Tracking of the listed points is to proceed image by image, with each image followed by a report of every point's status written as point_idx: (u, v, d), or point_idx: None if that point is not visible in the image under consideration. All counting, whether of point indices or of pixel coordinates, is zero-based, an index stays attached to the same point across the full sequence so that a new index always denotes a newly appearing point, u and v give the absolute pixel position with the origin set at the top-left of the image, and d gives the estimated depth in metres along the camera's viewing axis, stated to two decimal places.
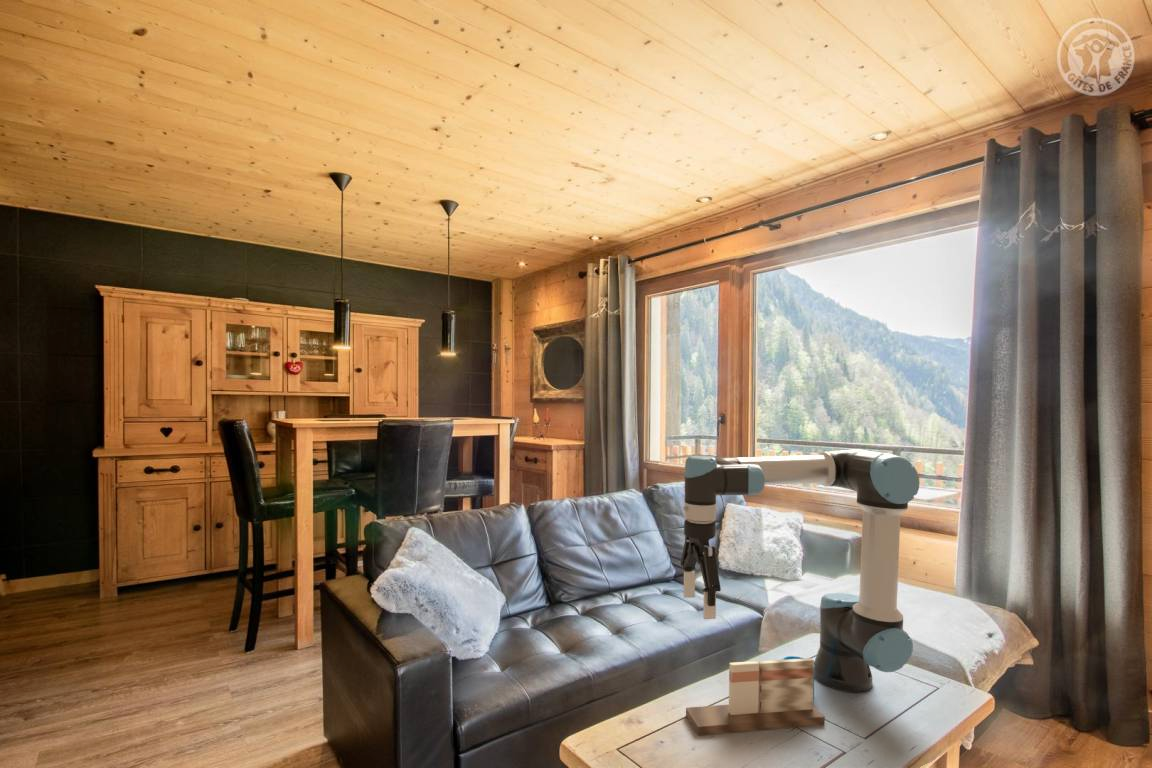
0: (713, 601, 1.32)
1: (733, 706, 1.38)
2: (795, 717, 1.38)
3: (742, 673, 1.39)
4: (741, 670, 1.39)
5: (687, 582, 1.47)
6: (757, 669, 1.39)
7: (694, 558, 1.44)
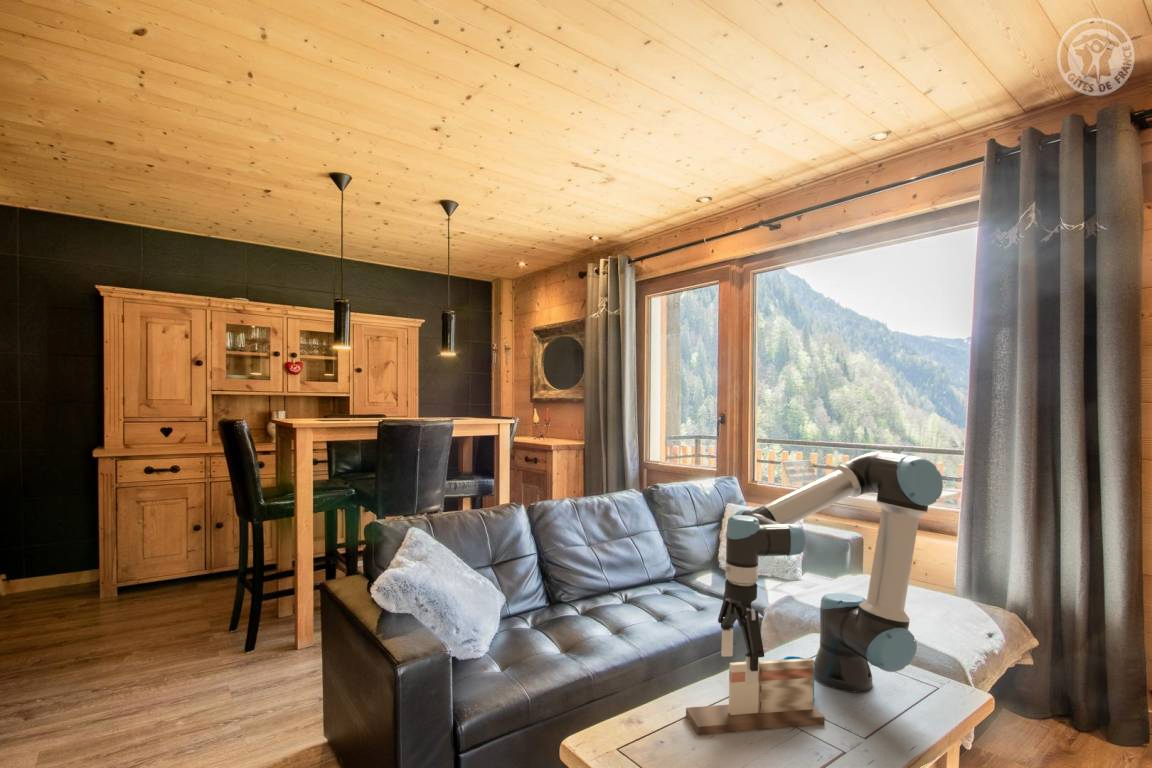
0: (756, 666, 1.31)
1: (733, 706, 1.38)
2: (795, 717, 1.38)
3: (742, 673, 1.39)
4: (741, 670, 1.39)
5: (725, 641, 1.46)
6: None
7: (733, 617, 1.43)
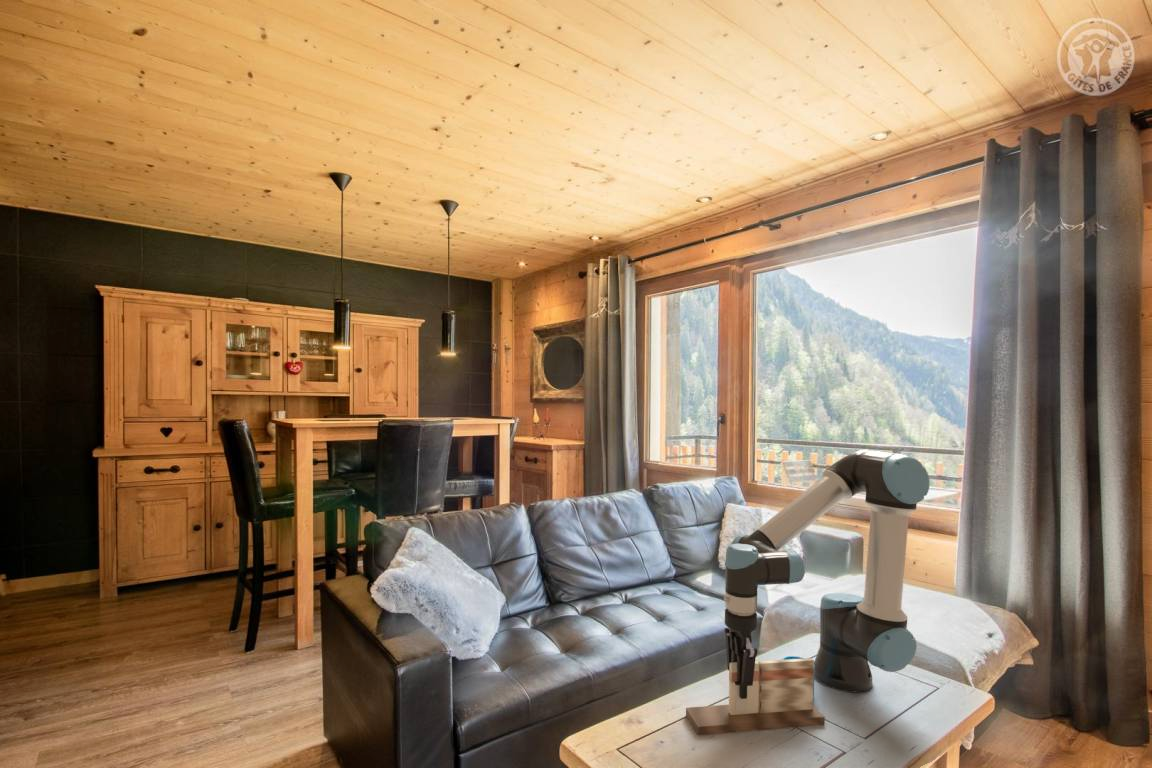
0: (745, 694, 1.37)
1: (733, 706, 1.38)
2: (795, 717, 1.38)
3: None
4: None
5: None
6: (757, 669, 1.39)
7: None
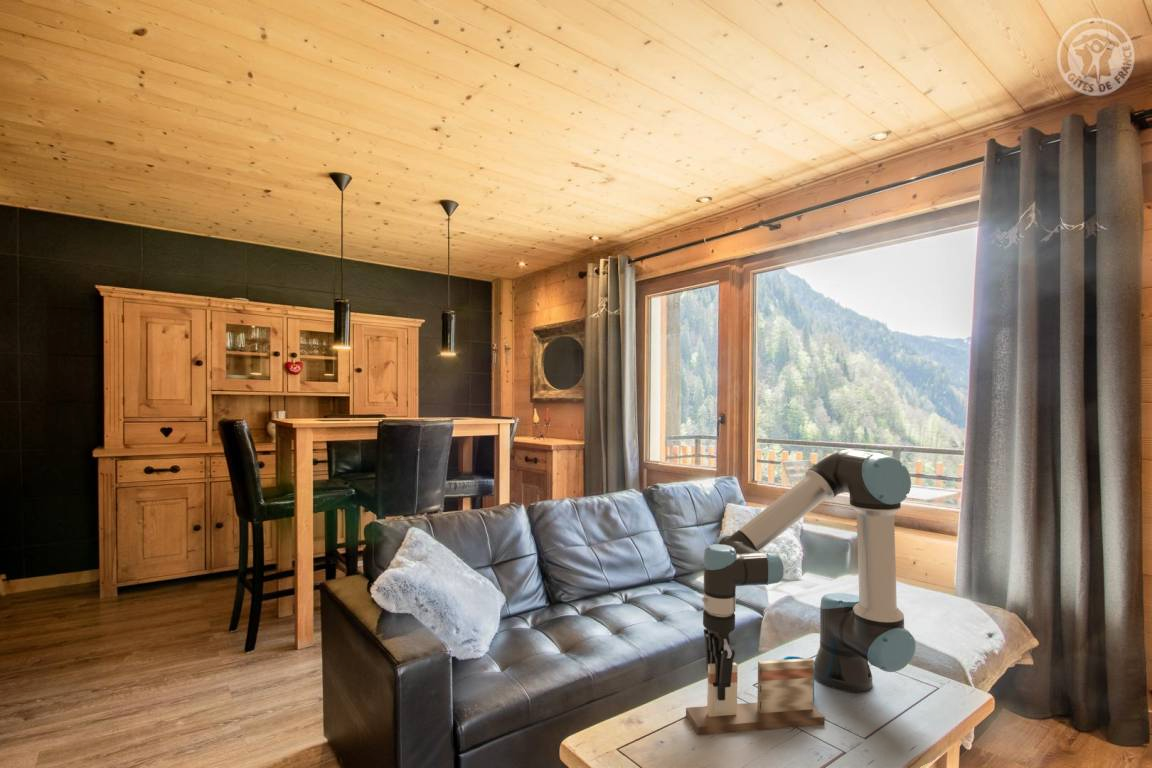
0: (723, 696, 1.36)
1: (711, 708, 1.38)
2: (795, 717, 1.38)
3: None
4: None
5: None
6: (736, 670, 1.39)
7: None
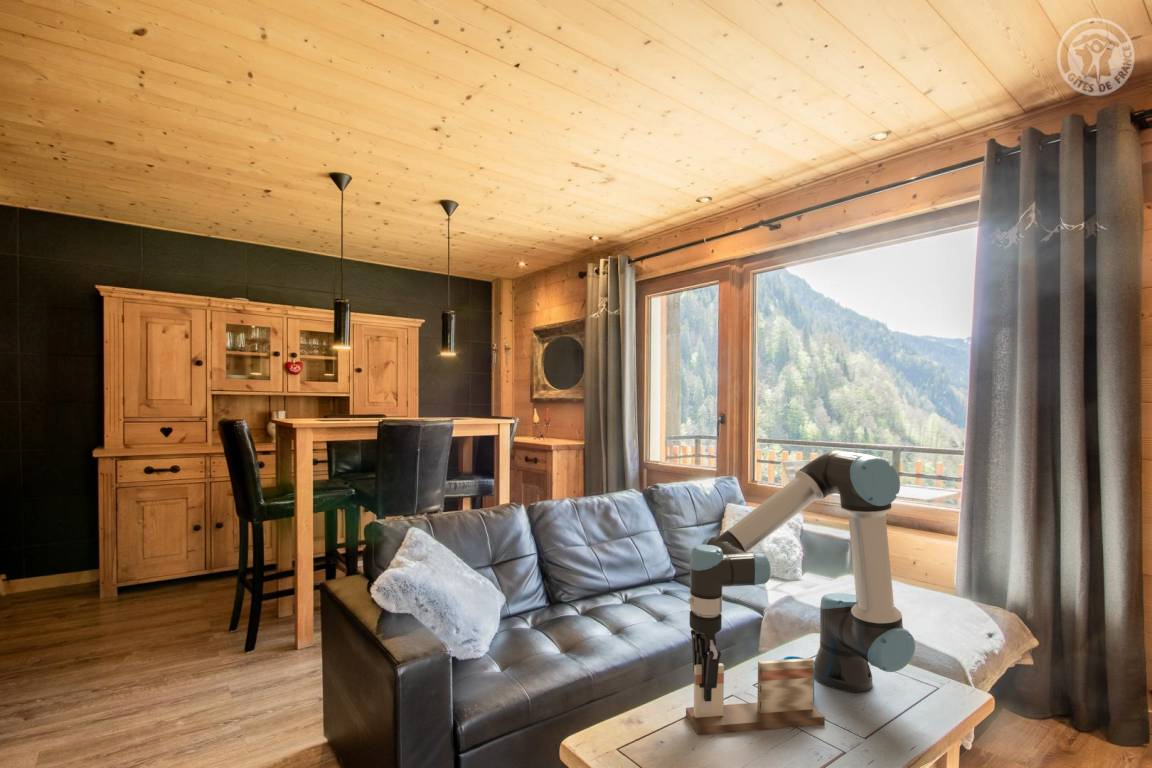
0: (709, 697, 1.36)
1: (697, 709, 1.37)
2: (795, 717, 1.38)
3: None
4: None
5: None
6: (722, 671, 1.38)
7: None
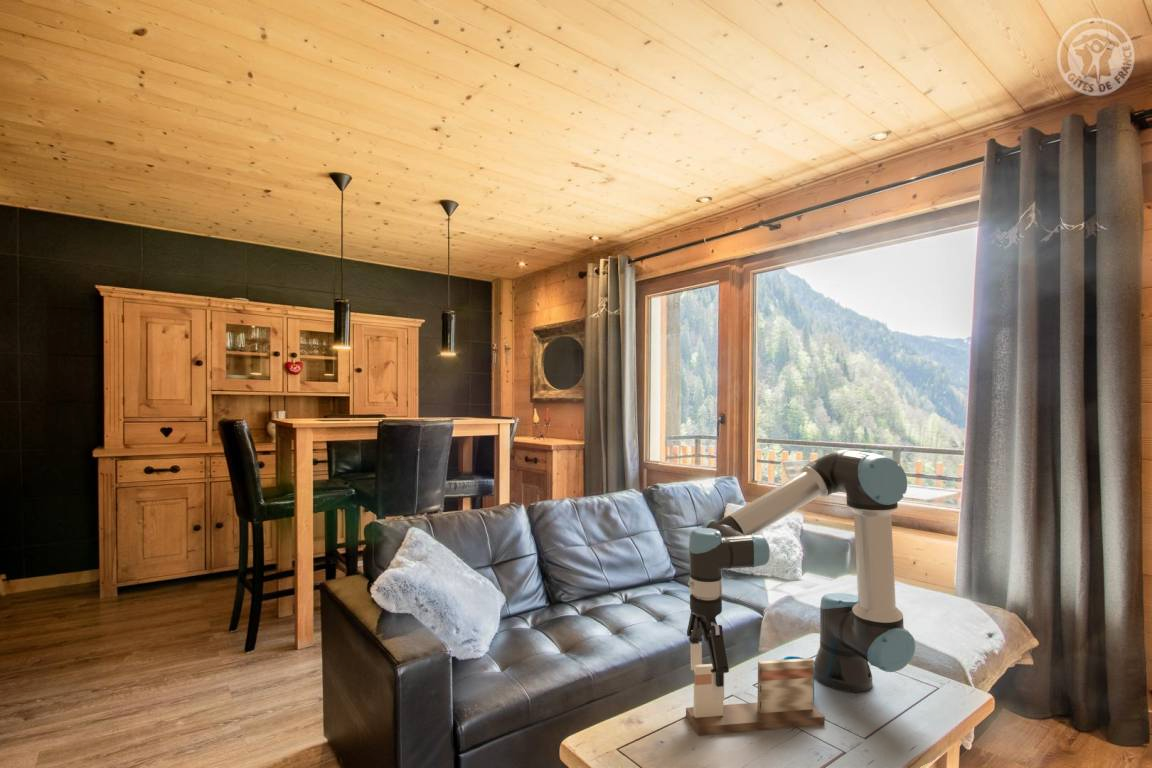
0: (721, 682, 1.30)
1: (697, 709, 1.37)
2: (795, 717, 1.38)
3: (707, 675, 1.37)
4: (706, 672, 1.37)
5: (694, 655, 1.44)
6: None
7: (701, 631, 1.42)
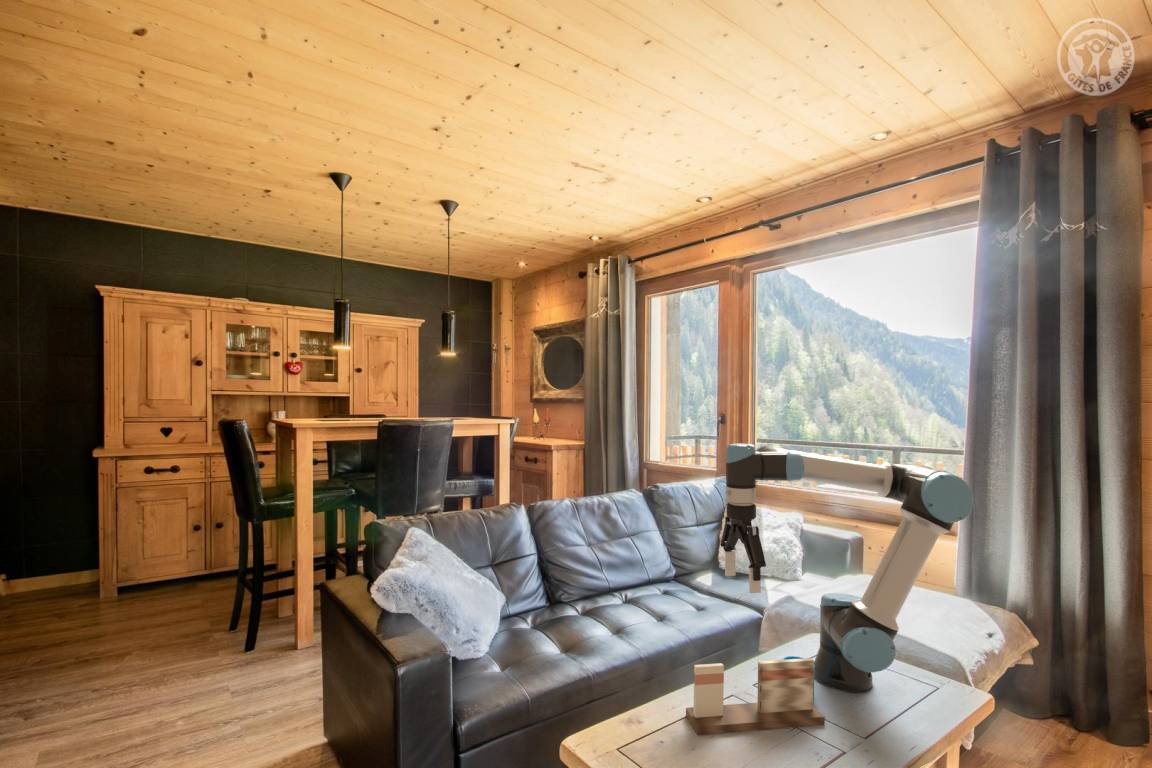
0: (759, 576, 1.43)
1: (697, 709, 1.37)
2: (795, 717, 1.38)
3: (707, 675, 1.37)
4: (706, 672, 1.37)
5: (728, 562, 1.58)
6: (722, 671, 1.38)
7: (735, 539, 1.55)
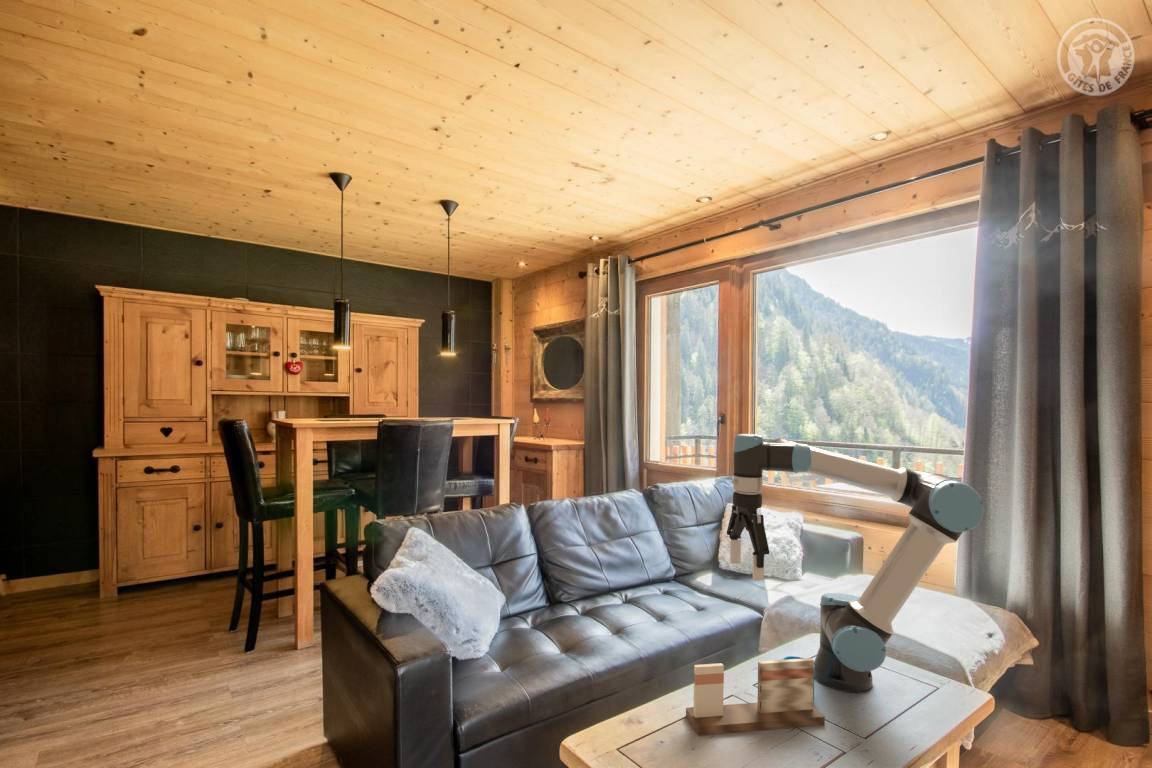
0: (762, 563, 1.46)
1: (697, 709, 1.37)
2: (795, 717, 1.38)
3: (707, 675, 1.37)
4: (706, 672, 1.37)
5: (733, 550, 1.61)
6: (722, 671, 1.38)
7: (741, 527, 1.59)
